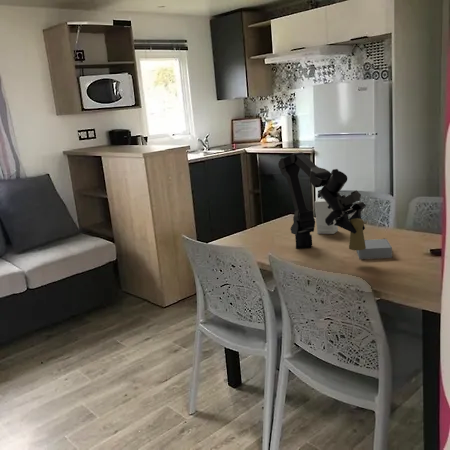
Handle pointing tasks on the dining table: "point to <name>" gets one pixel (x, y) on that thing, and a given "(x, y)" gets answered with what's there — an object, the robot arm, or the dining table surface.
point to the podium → (376, 249)
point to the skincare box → (323, 218)
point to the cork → (357, 235)
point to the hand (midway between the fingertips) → (360, 231)
